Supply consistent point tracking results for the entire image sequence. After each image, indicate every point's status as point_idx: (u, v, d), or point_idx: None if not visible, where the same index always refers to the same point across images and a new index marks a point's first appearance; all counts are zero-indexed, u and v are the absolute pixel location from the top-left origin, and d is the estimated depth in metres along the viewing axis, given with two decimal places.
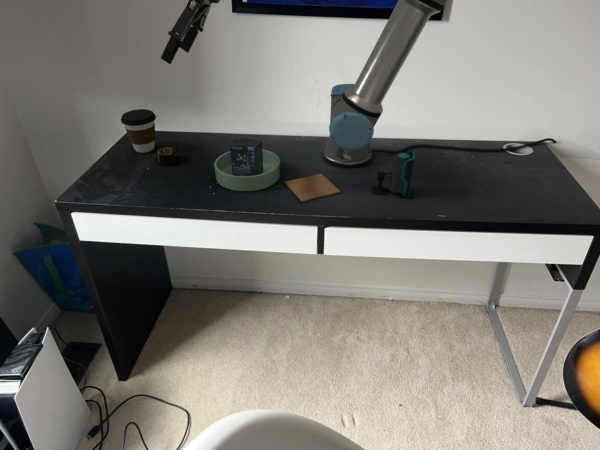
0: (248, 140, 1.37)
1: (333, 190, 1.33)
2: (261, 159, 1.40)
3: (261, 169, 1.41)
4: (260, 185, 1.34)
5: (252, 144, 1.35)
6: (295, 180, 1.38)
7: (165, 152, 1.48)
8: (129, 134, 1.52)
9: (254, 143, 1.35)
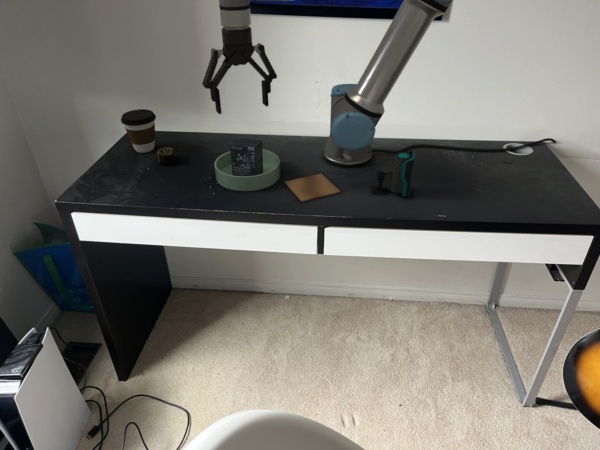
0: (248, 140, 1.37)
1: (333, 190, 1.33)
2: (261, 159, 1.40)
3: (261, 169, 1.41)
4: (260, 185, 1.34)
5: (252, 144, 1.35)
6: (295, 180, 1.38)
7: (165, 152, 1.48)
8: (129, 134, 1.52)
9: (254, 143, 1.35)
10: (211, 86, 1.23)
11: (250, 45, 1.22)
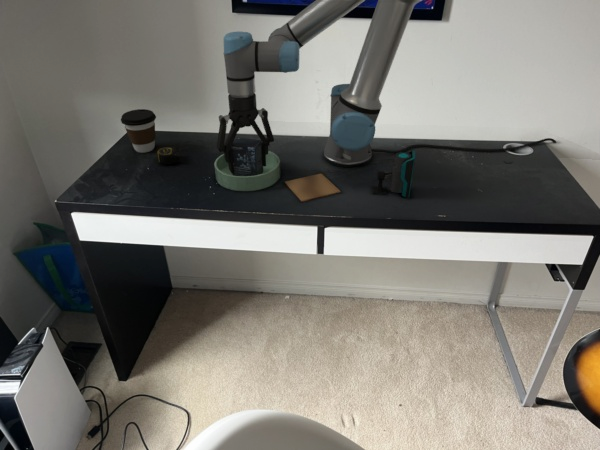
0: (248, 140, 1.37)
1: (333, 190, 1.33)
2: (261, 159, 1.40)
3: (261, 169, 1.41)
4: (260, 185, 1.34)
5: (252, 144, 1.35)
6: (295, 180, 1.38)
7: (165, 152, 1.48)
8: (129, 134, 1.52)
9: (254, 143, 1.35)
10: (225, 150, 1.34)
11: (254, 109, 1.31)
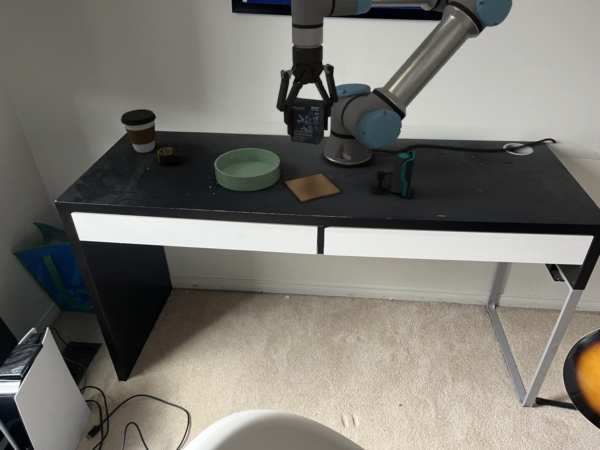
0: (310, 100, 1.23)
1: (333, 190, 1.33)
2: (323, 122, 1.26)
3: (322, 133, 1.27)
4: (260, 185, 1.34)
5: (315, 104, 1.21)
6: (295, 180, 1.38)
7: (165, 152, 1.48)
8: (129, 134, 1.52)
9: (318, 103, 1.21)
10: (285, 110, 1.20)
11: (320, 63, 1.17)
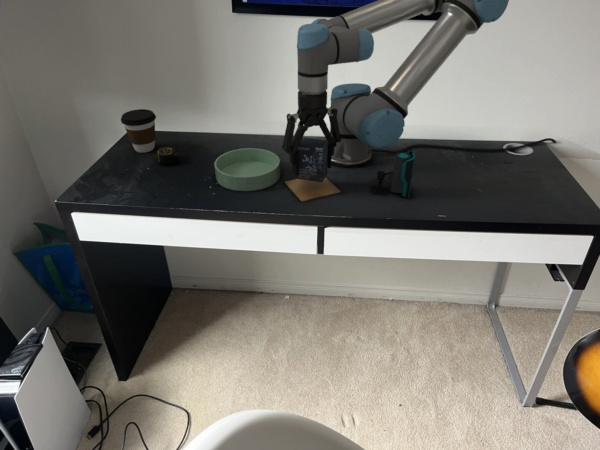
0: (314, 140, 1.28)
1: (333, 190, 1.33)
2: (327, 160, 1.31)
3: (326, 171, 1.33)
4: (260, 185, 1.34)
5: (319, 144, 1.26)
6: (295, 180, 1.38)
7: (165, 152, 1.48)
8: (129, 134, 1.52)
9: (322, 143, 1.27)
10: (291, 150, 1.25)
11: (324, 107, 1.23)
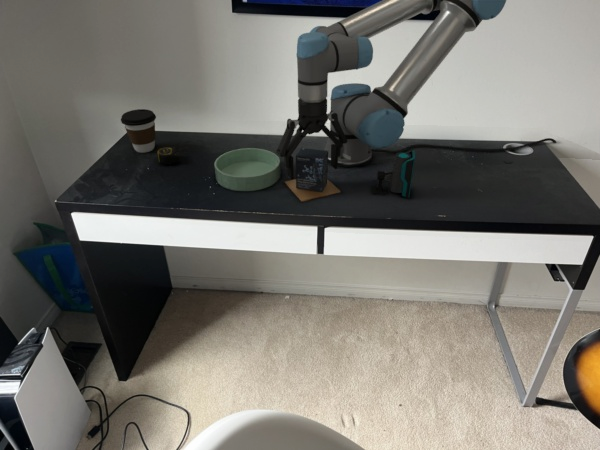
0: (314, 151, 1.30)
1: (333, 190, 1.33)
2: (326, 170, 1.33)
3: (326, 181, 1.34)
4: (260, 185, 1.34)
5: (319, 155, 1.28)
6: (295, 180, 1.38)
7: (165, 152, 1.48)
8: (129, 134, 1.52)
9: (322, 154, 1.29)
10: (286, 154, 1.25)
11: (324, 114, 1.24)
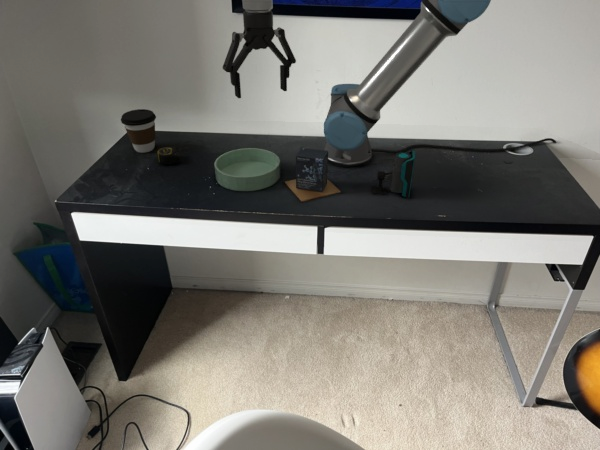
0: (314, 151, 1.30)
1: (333, 190, 1.33)
2: (326, 170, 1.33)
3: (326, 181, 1.34)
4: (260, 185, 1.34)
5: (319, 155, 1.28)
6: (295, 180, 1.38)
7: (165, 152, 1.48)
8: (129, 134, 1.52)
9: (322, 154, 1.29)
10: (232, 70, 1.23)
11: (271, 29, 1.22)
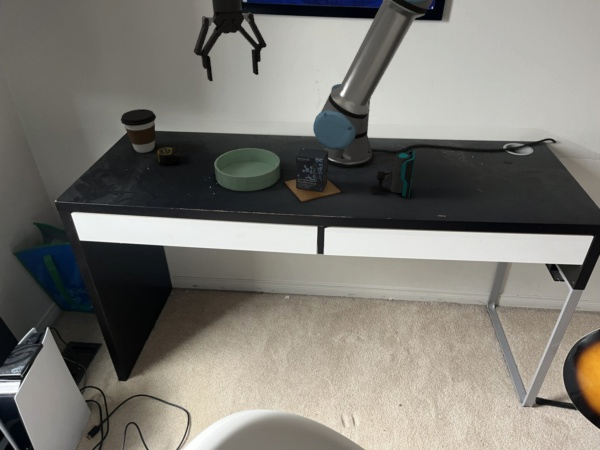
0: (314, 151, 1.30)
1: (333, 190, 1.33)
2: (326, 170, 1.33)
3: (326, 181, 1.34)
4: (260, 185, 1.34)
5: (319, 155, 1.28)
6: (295, 180, 1.38)
7: (165, 152, 1.48)
8: (129, 134, 1.52)
9: (322, 154, 1.29)
10: (202, 53, 1.27)
11: (240, 13, 1.26)
